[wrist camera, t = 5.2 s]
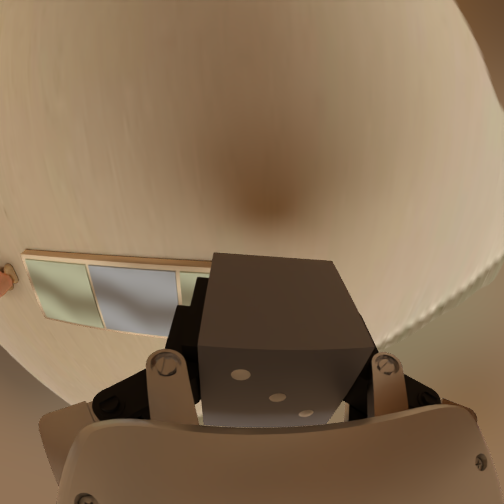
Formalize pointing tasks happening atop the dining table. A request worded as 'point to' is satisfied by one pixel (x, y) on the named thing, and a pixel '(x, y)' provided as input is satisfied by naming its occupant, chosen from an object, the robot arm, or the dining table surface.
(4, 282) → the grandmother figurine
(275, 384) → the die
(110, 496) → the robot arm
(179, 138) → the dining table surface
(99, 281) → the board
